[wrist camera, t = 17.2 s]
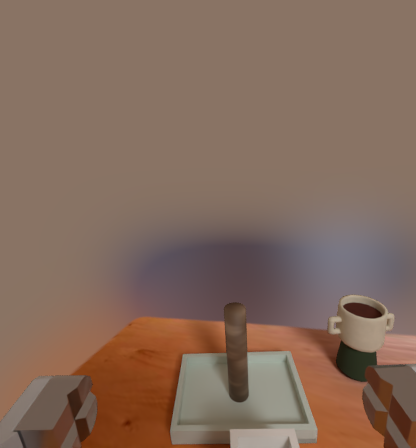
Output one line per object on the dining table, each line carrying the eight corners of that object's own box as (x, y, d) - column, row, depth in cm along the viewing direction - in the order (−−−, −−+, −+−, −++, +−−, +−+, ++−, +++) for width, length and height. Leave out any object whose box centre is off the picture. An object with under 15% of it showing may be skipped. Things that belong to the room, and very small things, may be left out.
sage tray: (171, 444, 37) (169, 431, 36) (184, 364, 50) (183, 354, 50) (316, 443, 36) (317, 429, 35) (289, 361, 49) (290, 351, 48)
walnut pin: (229, 402, 41) (224, 316, 37) (228, 385, 44) (223, 302, 40) (249, 402, 41) (246, 315, 37) (247, 384, 44) (244, 302, 40)
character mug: (373, 352, 50) (381, 292, 46) (400, 384, 43) (412, 317, 39) (316, 355, 50) (320, 296, 46) (334, 389, 43) (339, 322, 40)
